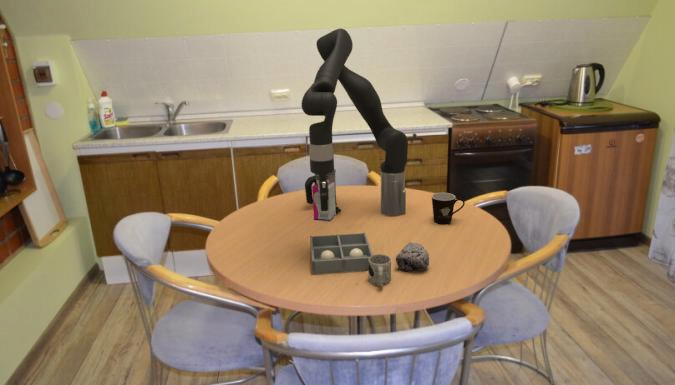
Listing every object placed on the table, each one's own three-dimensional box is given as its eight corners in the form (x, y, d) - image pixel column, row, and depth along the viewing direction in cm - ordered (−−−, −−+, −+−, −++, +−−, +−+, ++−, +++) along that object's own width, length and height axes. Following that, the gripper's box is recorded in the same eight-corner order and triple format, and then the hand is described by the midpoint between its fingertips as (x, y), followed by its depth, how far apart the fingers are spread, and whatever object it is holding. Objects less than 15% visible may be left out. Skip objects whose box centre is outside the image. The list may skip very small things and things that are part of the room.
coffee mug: (428, 224, 191) (429, 199, 188) (433, 216, 199) (434, 191, 195) (460, 228, 187) (461, 202, 184) (464, 219, 195) (465, 194, 191)
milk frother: (324, 199, 220) (322, 166, 215) (354, 206, 211) (353, 172, 206) (302, 210, 209) (300, 175, 204) (333, 217, 200) (332, 181, 195)
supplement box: (336, 215, 169) (335, 181, 165) (330, 221, 164) (329, 187, 160) (319, 213, 171) (318, 180, 167) (313, 220, 165) (311, 186, 161)
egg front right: (334, 259, 165) (333, 247, 163) (335, 266, 161) (334, 253, 159) (320, 260, 164) (319, 248, 163) (321, 267, 160) (320, 254, 159)
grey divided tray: (365, 244, 177) (365, 232, 175) (374, 270, 159) (373, 257, 158) (310, 247, 175) (310, 236, 174) (313, 274, 158) (312, 261, 156)
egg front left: (362, 258, 165) (362, 245, 164) (364, 264, 161) (364, 251, 160) (348, 258, 165) (348, 246, 164) (350, 265, 161) (349, 252, 159)
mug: (368, 274, 157) (368, 254, 155) (390, 273, 157) (390, 254, 154) (369, 291, 148) (368, 270, 145) (392, 290, 147) (392, 270, 145)
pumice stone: (406, 283, 156) (436, 269, 157) (400, 262, 152) (430, 249, 154) (393, 267, 165) (421, 254, 167) (387, 247, 162) (415, 234, 163)
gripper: (335, 162, 154) (337, 213, 159) (332, 150, 167) (333, 198, 173) (310, 163, 153) (313, 215, 159) (308, 151, 167) (311, 199, 172)
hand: (323, 206), depth 166 cm, fingers closed on supplement box, 7 cm apart
